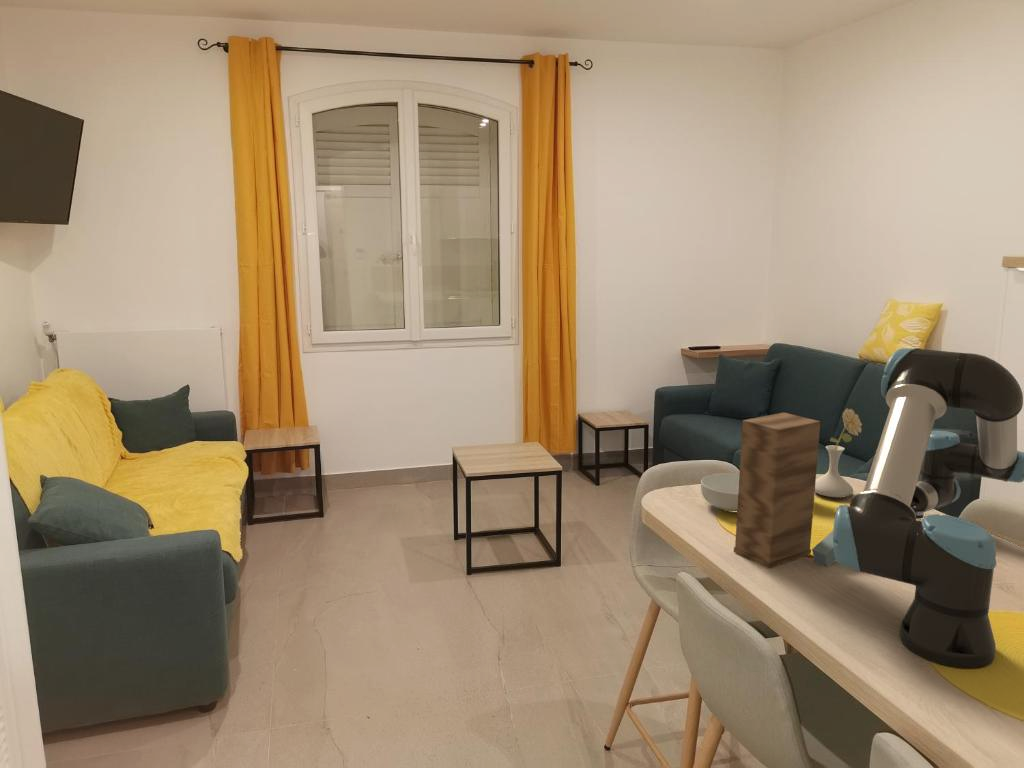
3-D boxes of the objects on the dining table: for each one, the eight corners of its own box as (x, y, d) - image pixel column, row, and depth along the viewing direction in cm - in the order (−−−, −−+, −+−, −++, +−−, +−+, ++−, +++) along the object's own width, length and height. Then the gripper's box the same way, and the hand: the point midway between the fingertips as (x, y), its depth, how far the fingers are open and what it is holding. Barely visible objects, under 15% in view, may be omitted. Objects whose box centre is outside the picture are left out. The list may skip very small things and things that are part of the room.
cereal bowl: (697, 515, 203) (699, 489, 202) (701, 494, 219) (702, 470, 218) (764, 521, 199) (766, 496, 197) (763, 500, 214) (765, 476, 213)
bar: (890, 509, 182) (888, 497, 181) (827, 566, 172) (825, 554, 171) (876, 505, 185) (874, 493, 183) (814, 561, 175) (811, 549, 174)
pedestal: (810, 554, 179) (821, 421, 172) (769, 568, 171) (779, 430, 165) (774, 539, 187) (783, 412, 181) (733, 552, 180) (741, 420, 174)
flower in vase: (827, 502, 212) (834, 415, 207) (801, 489, 223) (808, 405, 218) (866, 498, 216) (875, 412, 211) (839, 485, 226) (847, 403, 221)
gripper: (945, 524, 184) (887, 545, 172) (880, 503, 197) (822, 522, 185) (948, 494, 182) (890, 514, 170) (883, 475, 196) (825, 492, 184)
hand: (855, 518), depth 178 cm, fingers closed on bar, 3 cm apart
